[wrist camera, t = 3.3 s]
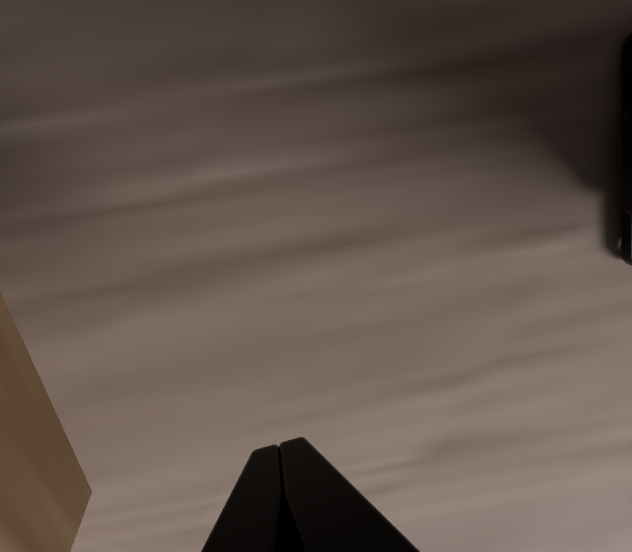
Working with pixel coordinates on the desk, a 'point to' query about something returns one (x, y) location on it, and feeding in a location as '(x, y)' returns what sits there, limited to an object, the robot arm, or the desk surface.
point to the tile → (34, 457)
